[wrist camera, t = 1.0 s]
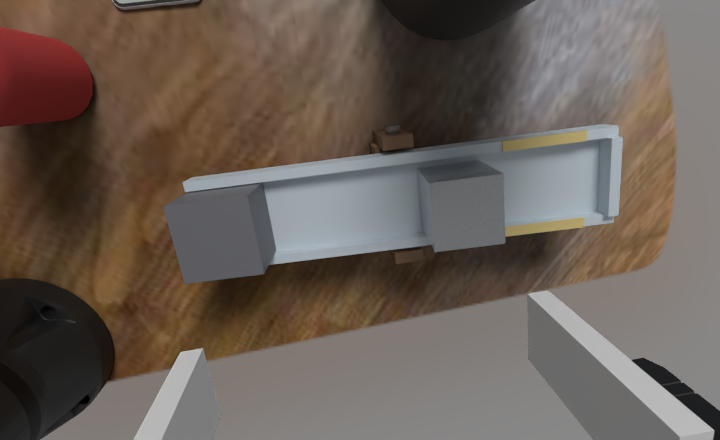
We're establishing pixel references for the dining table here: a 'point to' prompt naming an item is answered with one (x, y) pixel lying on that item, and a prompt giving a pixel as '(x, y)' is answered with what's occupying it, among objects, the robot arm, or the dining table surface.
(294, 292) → the dining table surface
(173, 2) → the smartphone
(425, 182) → the block
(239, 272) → the beam
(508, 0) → the vase
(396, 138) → the fulcrum
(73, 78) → the beer can
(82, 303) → the robot arm
